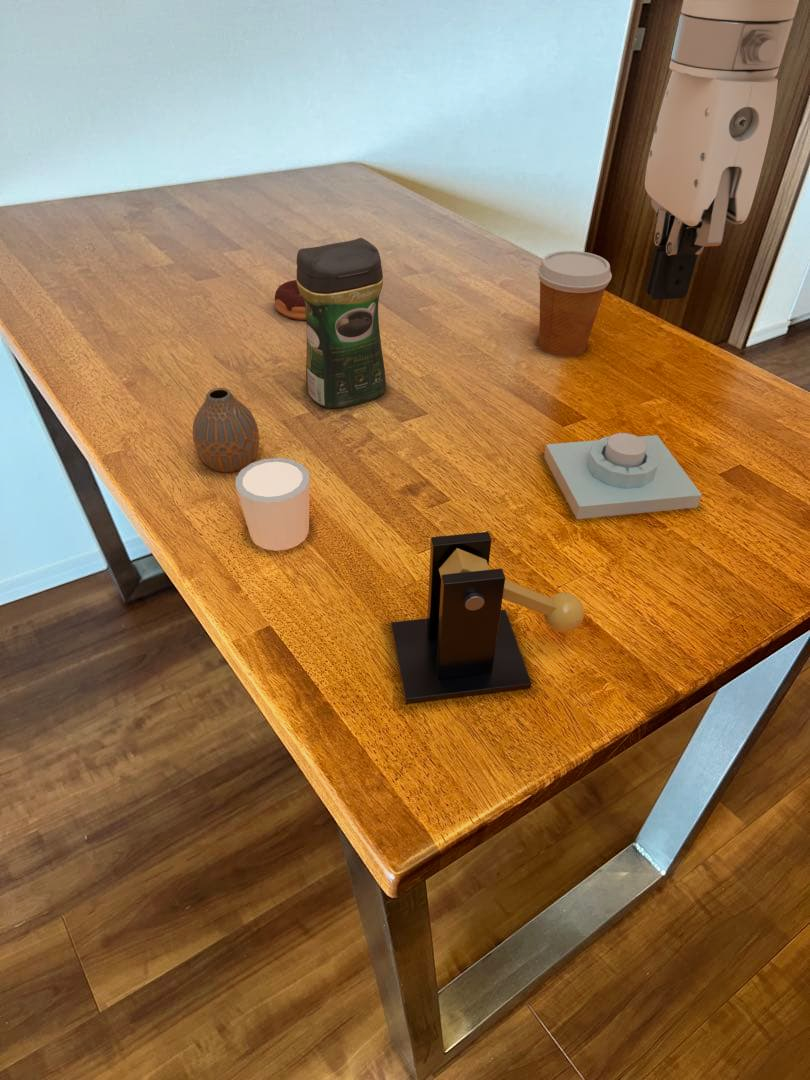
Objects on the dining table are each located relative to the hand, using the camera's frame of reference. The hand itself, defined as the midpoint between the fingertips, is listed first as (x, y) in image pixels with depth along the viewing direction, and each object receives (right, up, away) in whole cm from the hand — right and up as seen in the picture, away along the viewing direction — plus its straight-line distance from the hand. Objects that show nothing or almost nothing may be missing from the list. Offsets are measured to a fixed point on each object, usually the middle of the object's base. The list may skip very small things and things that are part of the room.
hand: (665, 294), depth 64 cm
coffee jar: (-30, -3, +28) cm, 41 cm away
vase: (-42, -13, +16) cm, 47 cm away
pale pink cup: (-35, -21, +7) cm, 42 cm away
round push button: (0, -13, +12) cm, 18 cm away
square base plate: (0, -16, +14) cm, 21 cm away
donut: (-37, +13, +46) cm, 60 cm away
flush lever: (-15, -27, -8) cm, 32 cm away
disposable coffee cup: (-1, +5, +37) cm, 38 cm away
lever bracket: (-19, -32, -4) cm, 37 cm away
